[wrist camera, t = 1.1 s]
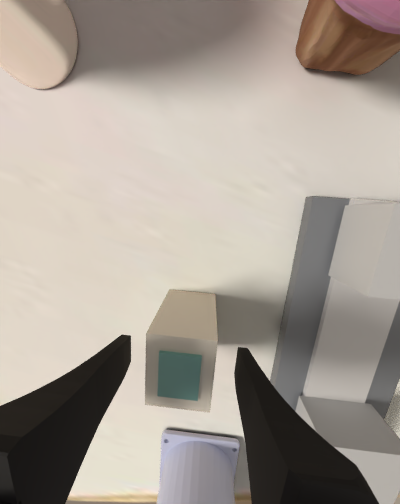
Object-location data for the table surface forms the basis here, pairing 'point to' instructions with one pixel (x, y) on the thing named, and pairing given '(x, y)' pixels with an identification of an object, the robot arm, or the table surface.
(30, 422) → the robot arm
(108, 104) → the table surface
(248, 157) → the table surface
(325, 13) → the cupcake
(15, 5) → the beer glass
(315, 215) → the rail board
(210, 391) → the block
